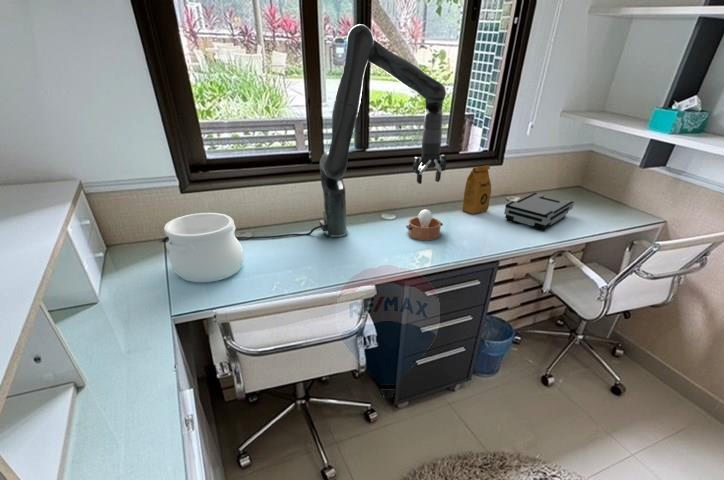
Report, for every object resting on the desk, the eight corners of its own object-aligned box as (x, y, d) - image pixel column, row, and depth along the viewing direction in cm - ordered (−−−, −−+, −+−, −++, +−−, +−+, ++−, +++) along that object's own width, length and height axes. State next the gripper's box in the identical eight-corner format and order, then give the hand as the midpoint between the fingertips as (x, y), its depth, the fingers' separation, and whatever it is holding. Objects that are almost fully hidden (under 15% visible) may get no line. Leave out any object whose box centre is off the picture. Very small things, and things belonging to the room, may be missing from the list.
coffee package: (490, 212, 206) (498, 167, 193) (472, 216, 200) (479, 170, 187) (477, 206, 212) (484, 162, 199) (459, 210, 207) (465, 165, 194)
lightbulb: (421, 237, 177) (423, 213, 170) (414, 232, 181) (416, 208, 175) (433, 235, 179) (435, 211, 173) (426, 230, 183) (428, 206, 177)
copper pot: (414, 242, 172) (414, 230, 169) (400, 230, 183) (401, 219, 179) (447, 237, 178) (448, 225, 174) (433, 226, 188) (434, 214, 185)
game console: (570, 215, 204) (575, 199, 199) (543, 233, 185) (547, 215, 180) (531, 206, 215) (535, 190, 210) (502, 221, 196) (505, 204, 191)
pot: (203, 294, 134) (188, 244, 124) (158, 274, 144) (141, 227, 134) (261, 265, 152) (253, 219, 142) (218, 249, 162) (207, 206, 152)
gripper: (442, 137, 166) (438, 178, 175) (411, 139, 161) (409, 181, 170) (451, 141, 160) (447, 183, 170) (420, 143, 155) (417, 186, 165)
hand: (428, 182), depth 170 cm, fingers open, 8 cm apart
